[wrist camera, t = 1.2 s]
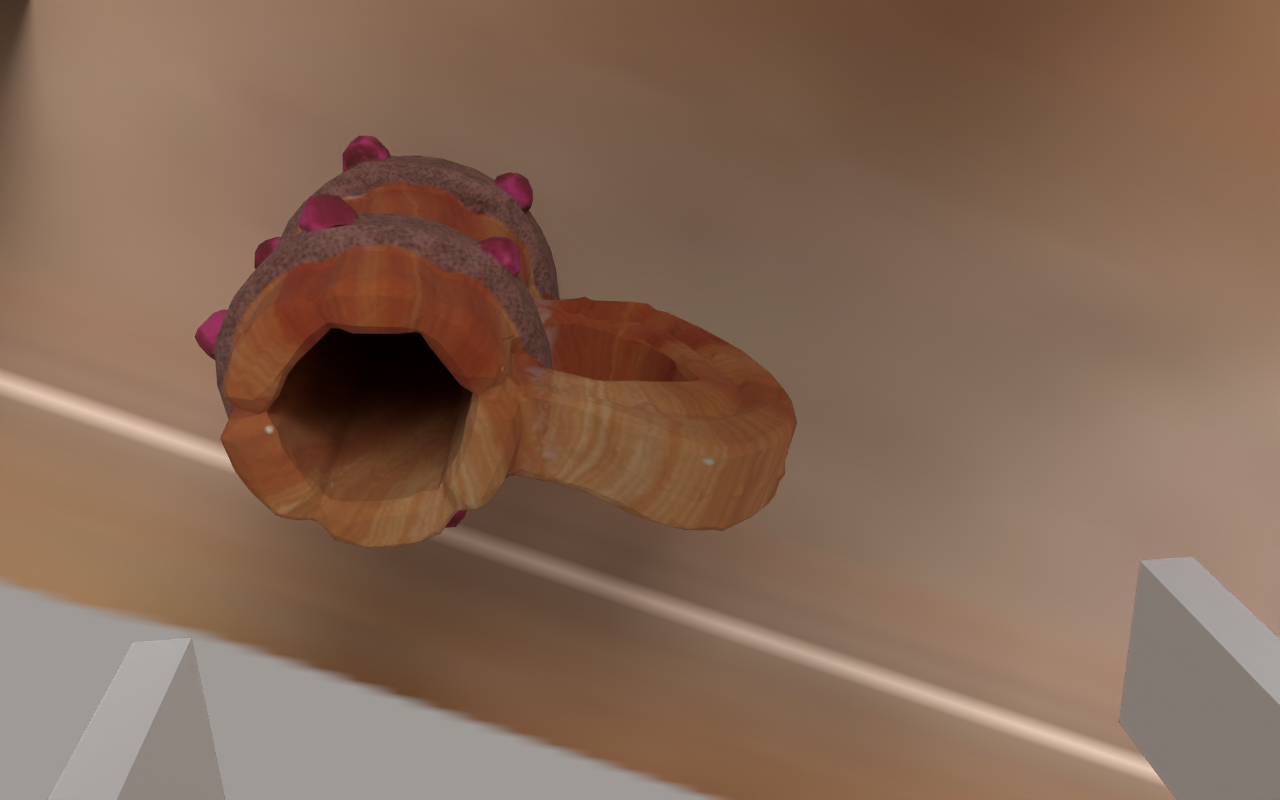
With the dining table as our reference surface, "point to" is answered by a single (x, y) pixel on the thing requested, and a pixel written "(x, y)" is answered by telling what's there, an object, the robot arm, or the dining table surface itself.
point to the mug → (470, 369)
